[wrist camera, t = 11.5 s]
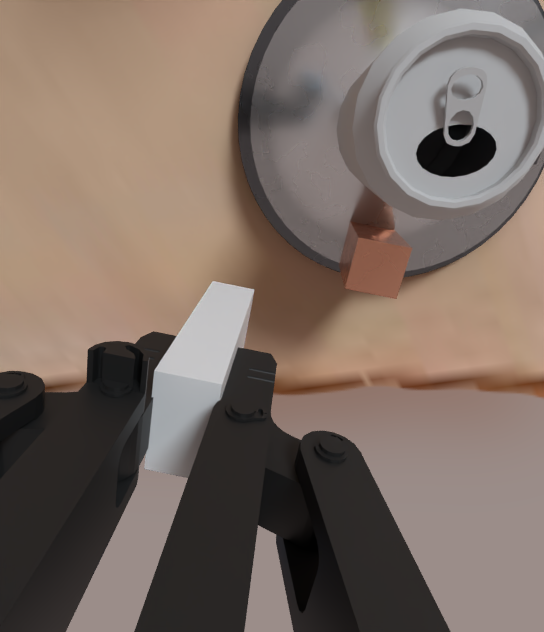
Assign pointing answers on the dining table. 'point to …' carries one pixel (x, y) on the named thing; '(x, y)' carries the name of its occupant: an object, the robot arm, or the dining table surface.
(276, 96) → the platter
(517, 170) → the can
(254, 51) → the turntable base
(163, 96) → the dining table surface
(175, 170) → the dining table surface
